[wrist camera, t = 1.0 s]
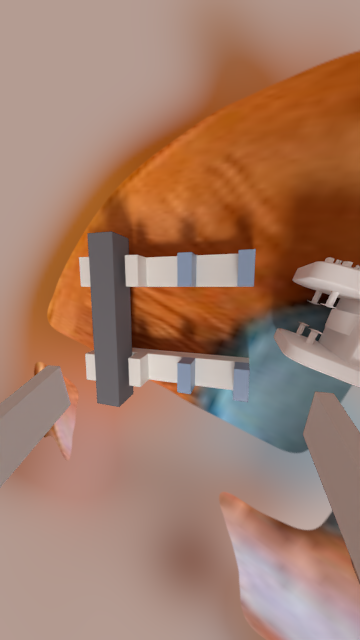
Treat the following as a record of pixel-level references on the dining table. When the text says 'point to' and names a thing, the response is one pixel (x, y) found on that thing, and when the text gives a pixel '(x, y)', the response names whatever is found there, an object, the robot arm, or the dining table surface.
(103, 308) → the dark gray bar
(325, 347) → the cable organizer
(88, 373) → the white notched holder
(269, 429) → the dining table surface
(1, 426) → the robot arm
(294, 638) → the dining table surface
